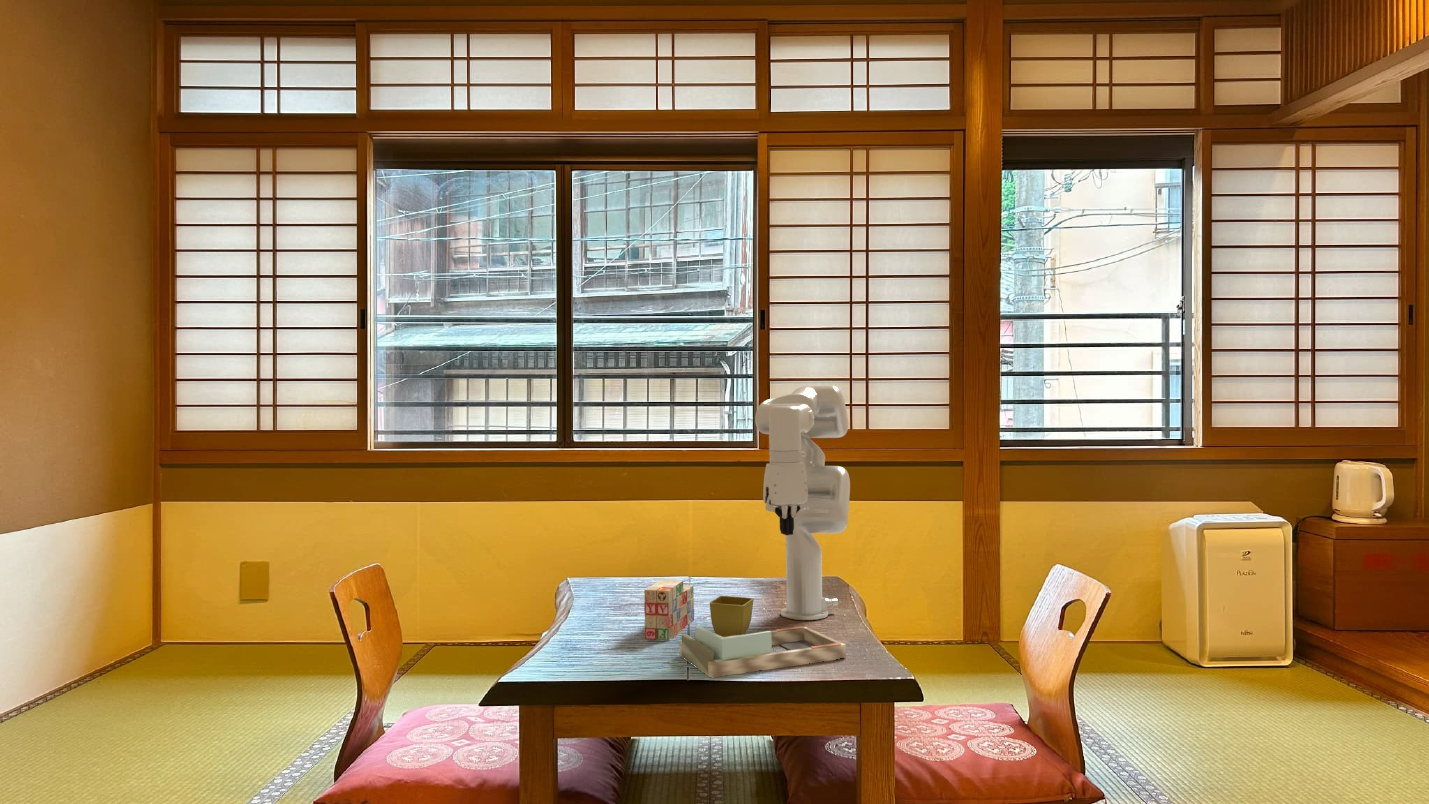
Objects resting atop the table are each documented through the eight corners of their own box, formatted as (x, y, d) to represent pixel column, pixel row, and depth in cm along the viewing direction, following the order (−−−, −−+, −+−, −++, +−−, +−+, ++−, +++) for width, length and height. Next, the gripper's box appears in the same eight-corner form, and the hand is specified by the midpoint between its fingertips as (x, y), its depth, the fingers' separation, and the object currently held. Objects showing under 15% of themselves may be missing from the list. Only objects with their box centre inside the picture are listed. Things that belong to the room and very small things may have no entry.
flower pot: (754, 634, 203) (754, 597, 203) (744, 643, 195) (743, 605, 195) (720, 631, 206) (720, 595, 206) (708, 640, 197) (708, 602, 198)
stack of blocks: (672, 619, 220) (671, 572, 220) (694, 620, 218) (694, 573, 218) (644, 640, 199) (643, 588, 199) (669, 641, 197) (668, 589, 198)
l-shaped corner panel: (771, 667, 176) (771, 631, 176) (722, 676, 170) (722, 639, 170) (742, 653, 186) (742, 620, 187) (695, 661, 181) (695, 626, 181)
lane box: (806, 639, 198) (805, 618, 198) (846, 658, 182) (845, 635, 182) (679, 655, 185) (679, 633, 185) (710, 678, 169) (710, 653, 169)
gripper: (804, 454, 203) (806, 528, 204) (750, 458, 197) (751, 534, 198) (820, 456, 197) (822, 533, 197) (764, 460, 191) (766, 540, 191)
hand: (787, 534), depth 198 cm, fingers closed
